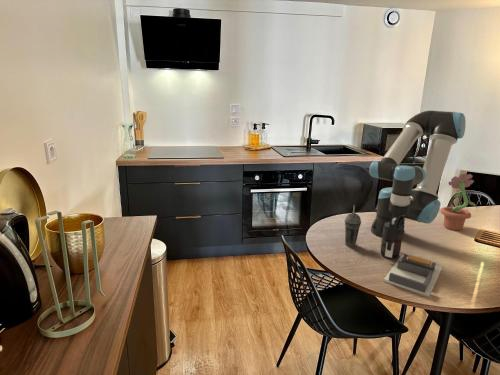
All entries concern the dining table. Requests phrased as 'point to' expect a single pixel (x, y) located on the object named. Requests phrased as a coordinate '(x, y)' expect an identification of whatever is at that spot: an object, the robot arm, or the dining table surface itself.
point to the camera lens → (396, 241)
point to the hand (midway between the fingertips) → (392, 251)
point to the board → (413, 275)
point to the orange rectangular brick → (419, 260)
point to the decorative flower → (457, 215)
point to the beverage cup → (351, 228)
